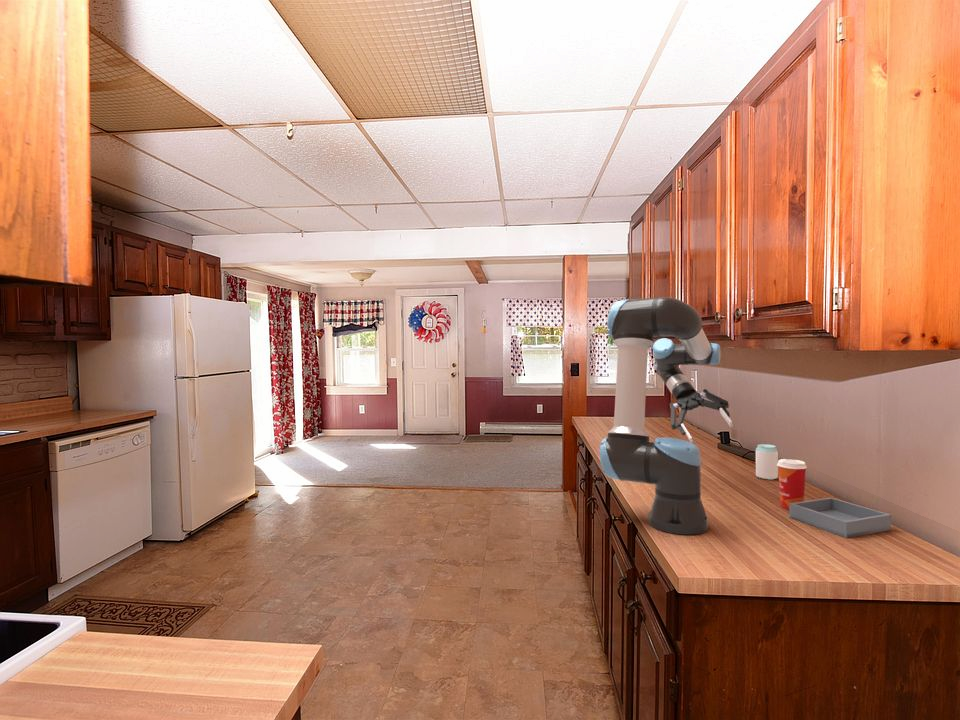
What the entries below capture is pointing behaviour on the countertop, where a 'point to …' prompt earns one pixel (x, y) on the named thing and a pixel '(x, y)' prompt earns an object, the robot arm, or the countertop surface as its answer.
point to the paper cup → (791, 481)
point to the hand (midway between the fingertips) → (711, 432)
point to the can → (766, 462)
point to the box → (840, 517)
